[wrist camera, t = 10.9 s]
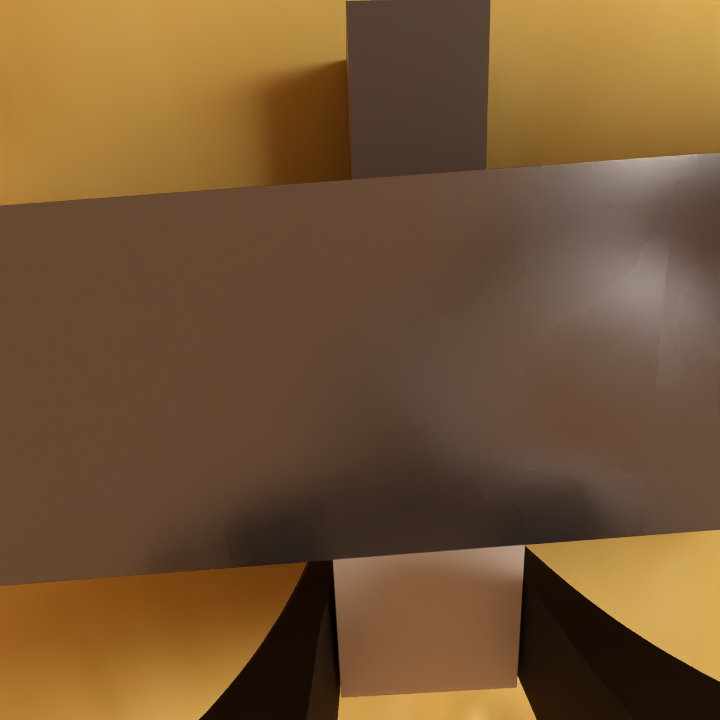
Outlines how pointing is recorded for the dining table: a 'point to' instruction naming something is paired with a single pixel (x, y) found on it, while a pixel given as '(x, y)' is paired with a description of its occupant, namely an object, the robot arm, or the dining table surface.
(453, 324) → the block
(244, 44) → the dining table surface
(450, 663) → the plug
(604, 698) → the robot arm
